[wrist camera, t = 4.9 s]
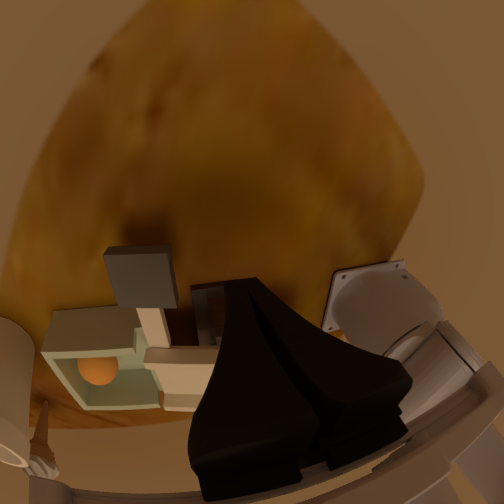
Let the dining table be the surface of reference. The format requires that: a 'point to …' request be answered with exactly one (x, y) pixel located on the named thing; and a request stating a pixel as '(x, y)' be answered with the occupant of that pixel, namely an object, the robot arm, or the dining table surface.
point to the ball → (98, 369)
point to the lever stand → (209, 312)
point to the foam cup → (15, 392)
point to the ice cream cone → (41, 450)
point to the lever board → (160, 321)
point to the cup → (102, 345)
